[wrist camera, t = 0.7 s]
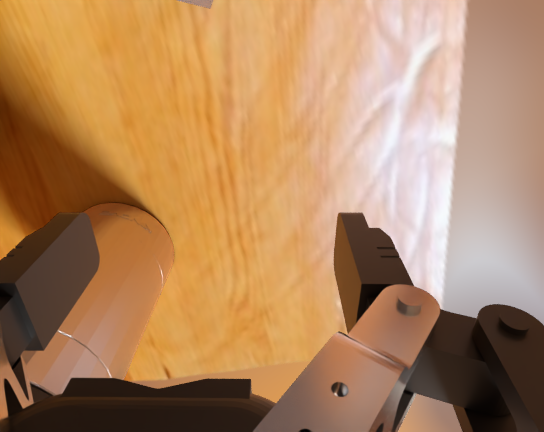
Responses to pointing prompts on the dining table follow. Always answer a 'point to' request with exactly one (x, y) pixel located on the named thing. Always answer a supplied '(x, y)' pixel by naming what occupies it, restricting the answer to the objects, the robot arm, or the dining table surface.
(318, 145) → the dining table surface
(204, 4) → the grey arch
